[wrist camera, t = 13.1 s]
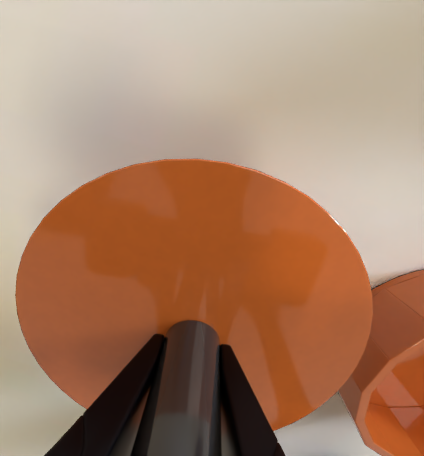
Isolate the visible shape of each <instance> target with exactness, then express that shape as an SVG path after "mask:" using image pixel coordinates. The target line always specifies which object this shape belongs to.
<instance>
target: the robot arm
mask: <svg viewBox="0 0 424 456" xmlns="http://www.w3.org/2000/svg"><path fill="white" fill-rule="evenodd" d="M163 342H164V335H162V334H154V335H153V336H152V337H151V338H150V339H149V341H148V342H147V343H146V344H145V345H144V346H143V347H142V348H141V350H140V351H139V352H138V353H137V354H136V355H135V356H134V357H133V359H132V360H131V361H130V362H129V363H128V364H127V365H126V366H125V367H124V369H123V370H122V371H121V372H120V373H119V374H118V375H117V376H116V378H115V379H114V380H113V381H112V382H111V383H110V384H109V385H108V386H107V388H106V389H105V390H104V391H103V392H102V393H101V394H100V395H99V397H98V398H97V399H96V400H95V401H94V402H93V403H92V404H91V406H90V407H89V408H88V409H87V410H86V411H85V412H84V414H83V416H81V417H80V418H79V419H78V420H77V421H76V422H75V423H74V424H73V426H72V427H71V428H70V429H69V430H68V431H67V432H66V433H65V434H64V435H63V436H62V437H61V439H60V440H59V441H58V442H57V443H56V444H55V445H54V446H53V447H52V448H51V449H50V450H49V451H48V452H47V453H46V454H45V455H44V456H130V454H131V451H132V448H133V444H134V441H135V437H136V434H137V430H138V427H139V424H140V420H141V417H142V413H143V410H144V406H145V403H146V400H147V396H148V393H149V389H150V386H151V382H152V379H153V376H154V372H155V369H156V366H157V362H158V359H159V355H160V352H161V348H162V345H163ZM220 373H221V432H222V456H285V454H284V452H283V450H282V448H281V446H280V444H279V443H277V442H278V440H277V438H276V436H275V434H274V432H273V430H272V428H271V426H270V424H269V422H268V420H267V418H266V416H265V414H264V412H263V410H262V408H261V406H260V404H259V402H258V400H257V398H256V396H255V394H254V392H253V390H252V388H251V386H250V384H249V382H248V380H247V378H246V376H245V374H244V372H243V370H242V368H241V366H240V364H239V362H238V360H237V358H236V356H235V354H234V352H233V350H232V348H231V346H230V345H227V344H221V345H220Z"/></svg>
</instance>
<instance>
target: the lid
mask: <svg viewBox="0 0 424 456" xmlns="http://www.w3.org/2000/svg"><path fill="white" fill-rule="evenodd" d="M15 296H16V306H17V315H18V318H19V322H20V326H21V330H22V333H23V335H24V337H25V340H26V342H27V344H28V347H29V349H30V351H31V352H32V354H33V356H34V357H35V359H36V361H37V362H38V364H39V365H40V366H41V368H42V369H43V370H44V371H45V373H46V374H47V375H48V377H49V378H50V379H51V380H52V381H53V382H54V383H55V384H56V385H57V386H58V387H59V388H60V389H61V390H62V391H63V392H64V393H66V394H67V395H68V396H69V397H70V398H72V399H73V400H74V401H75V402H77V403H78V404H80V405H81V406H83V407H84V408H86V409H88V408H89V407H90V406H91V404H92V403H93V402H94V401H95V400H96V399H97V398H98V397H99V395H100V394H101V393H102V392H103V391H104V390H105V389H106V388H107V386H108V385H109V384H110V383H111V382H112V381H113V380H114V379H115V378H116V376H117V375H118V374H119V373H120V372H121V371H122V370H123V369H124V367H125V366H126V365H127V364H128V363H129V362H130V361H131V360H132V359H133V357H134V356H135V355H136V354H137V353H138V352H139V351H140V350H141V348H142V347H143V346H144V345H145V344H146V343H147V342H148V341H149V339H150V338H151V337H152V336H153V335H154V334H162V335H164V342H163V345H162V348H161V352H160V355H159V359H158V362H157V366H156V369H155V372H154V376H153V379H152V382H151V386H150V389H149V393H148V396H147V400H146V403H145V406H144V410H143V413H142V417H141V420H140V424H139V427H138V430H137V434H136V437H135V441H134V444H133V448H132V451H131V454H130V456H222V432H221V373H220V345H221V344H227V345H230V346H231V348H232V350H233V352H234V354H235V356H236V358H237V360H238V362H239V364H240V366H241V368H242V370H243V372H244V374H245V376H246V378H247V380H248V382H249V384H250V386H251V388H252V390H253V392H254V394H255V396H256V398H257V400H258V402H259V404H260V406H261V408H262V410H263V412H264V414H265V416H266V418H267V420H268V422H269V424H270V426H271V428H272V430H273V431H275V430H277V429H280V428H282V427H285V426H287V425H289V424H292V423H294V422H295V421H297V420H299V419H301V418H303V417H305V416H307V415H308V414H310V413H311V412H313V411H314V410H316V409H317V408H318V407H320V406H321V405H323V404H324V403H325V402H326V401H327V400H328V399H330V398H331V397H332V396H333V395H334V394H335V393H336V392H337V391H338V390H339V389H340V388H341V387H342V386H343V385H344V383H345V382H346V381H347V380H348V378H349V377H350V376H351V374H352V373H353V371H354V370H355V368H356V367H357V365H358V363H359V361H360V359H361V357H362V355H363V353H364V351H365V348H366V345H367V341H368V338H369V335H370V331H371V323H372V316H373V306H372V292H371V287H370V282H369V278H368V274H367V271H366V269H365V266H364V264H363V261H362V259H361V256H360V254H359V252H358V250H357V249H356V247H355V246H354V244H353V242H352V241H351V239H350V238H349V236H348V234H347V233H346V232H345V230H344V229H343V228H342V227H341V226H340V225H339V224H338V223H337V221H336V220H335V219H334V218H333V217H332V216H331V215H330V213H328V212H327V211H326V210H325V209H323V208H322V207H321V206H320V205H319V204H317V203H316V202H315V201H314V200H313V199H311V198H310V197H309V196H307V195H306V194H304V193H302V192H301V191H299V190H297V189H296V188H294V187H292V186H291V185H289V184H287V183H286V182H284V181H281V180H279V179H277V178H274V177H272V176H269V175H267V174H265V173H262V172H260V171H257V170H255V169H251V168H247V167H243V166H239V165H235V164H232V163H228V162H221V161H213V160H204V159H164V160H158V161H151V162H145V163H139V164H134V165H131V166H128V167H124V168H121V169H118V170H115V171H112V172H109V173H106V174H104V175H102V176H100V177H98V178H96V179H94V180H92V181H90V182H88V183H86V184H84V185H82V186H81V187H79V188H78V189H76V190H75V191H74V192H72V193H71V194H69V195H68V196H67V197H65V198H64V199H62V200H61V201H60V202H59V203H58V204H57V205H56V206H55V207H54V208H53V209H52V210H51V211H50V212H49V213H48V214H47V215H46V216H45V217H44V218H43V220H42V221H41V223H40V224H39V225H38V227H37V228H36V230H35V231H34V233H33V234H32V236H31V237H30V239H29V241H28V244H27V246H26V248H25V250H24V252H23V255H22V257H21V261H20V265H19V269H18V273H17V280H16V294H15Z"/></svg>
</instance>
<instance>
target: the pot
mask: <svg viewBox="0 0 424 456" xmlns="http://www.w3.org/2000/svg"><path fill="white" fill-rule="evenodd" d="M371 292H372V306H373V316H372V323H371V331H370V335H369V338H368V341H367V345H366V348H365V351H364V353H363V355H362V357H361V359H360V361H359V363H358V365H357V367H356V368H355V370H354V371H353V373H352V374H351V376H350V377H349V378H348V380H347V381H346V382H345V383H344V385H343V386H342V387H341V388H340V389H339V390H338V391H337V392H338V394H339V395H340V397H341V399H342V401H343V403H344V405H345V407H346V409H347V411H348V413H349V415H350V417H351V419H352V421H353V423H354V424H355V426H356V428H357V430H358V432H359V434H360V436H361V438H362V440H363V442H364V444H365V445H366V446H367V447H369V448H370V449H372V450H373V451H375V452H376V453H378V454H380V455H381V456H424V270H420V271H415V272H412V273H409V274H405V275H402V276H399V277H397V278H395V279H392V280H390V281H388V282H385V283H384V284H382V285H380V286H378V287H376V288H374V289H373V290H371Z"/></svg>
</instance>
